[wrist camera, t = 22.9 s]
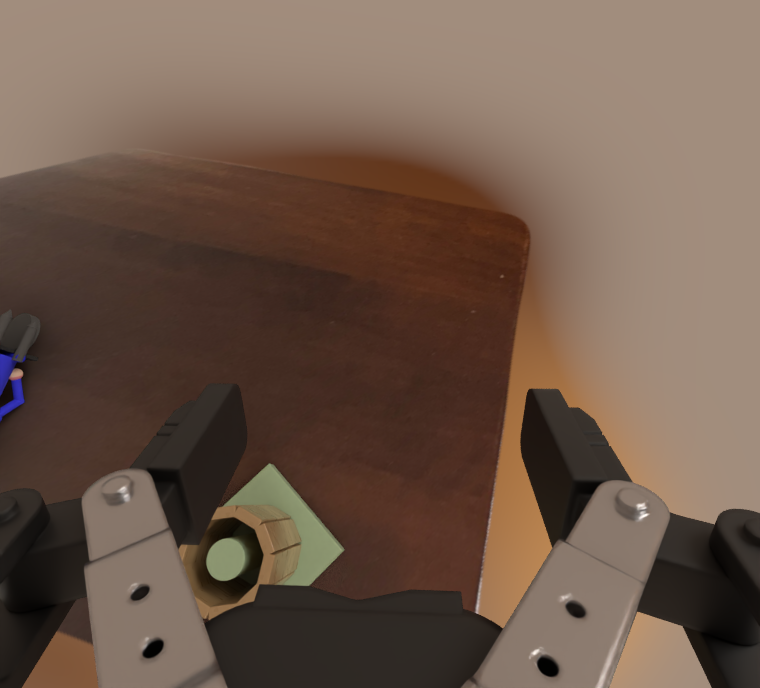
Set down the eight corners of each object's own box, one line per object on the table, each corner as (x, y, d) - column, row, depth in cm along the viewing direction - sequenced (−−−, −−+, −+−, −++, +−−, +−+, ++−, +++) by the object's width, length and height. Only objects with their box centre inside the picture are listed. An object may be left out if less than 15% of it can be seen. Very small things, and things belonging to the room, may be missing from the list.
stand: (345, 549, 37) (328, 562, 28) (256, 639, 35) (210, 681, 27) (273, 464, 39) (238, 453, 31) (186, 544, 37) (125, 555, 29)
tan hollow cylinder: (318, 549, 36) (295, 561, 28) (252, 614, 34) (210, 645, 27) (267, 487, 37) (232, 483, 30) (203, 547, 36) (150, 559, 28)
